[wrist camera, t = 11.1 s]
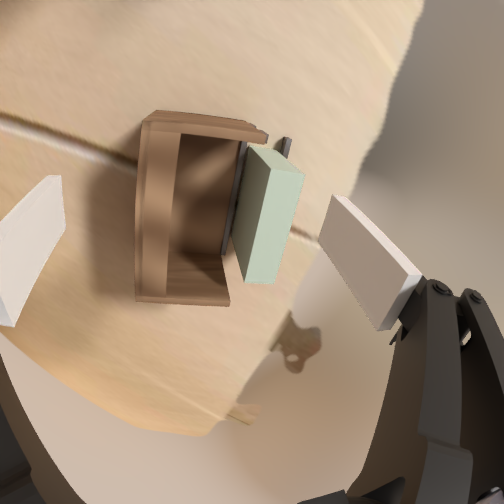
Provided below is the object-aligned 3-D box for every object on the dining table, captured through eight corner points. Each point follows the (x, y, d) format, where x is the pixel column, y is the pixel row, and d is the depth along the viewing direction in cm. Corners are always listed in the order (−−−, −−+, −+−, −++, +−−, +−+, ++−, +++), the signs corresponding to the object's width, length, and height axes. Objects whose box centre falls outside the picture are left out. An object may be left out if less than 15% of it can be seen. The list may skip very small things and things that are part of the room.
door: (249, 145, 33) (271, 168, 25) (275, 149, 34) (305, 174, 26) (231, 235, 39) (244, 282, 31) (254, 237, 40) (273, 284, 31)
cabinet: (156, 110, 29) (142, 120, 20) (290, 129, 33) (325, 148, 25) (144, 251, 37) (135, 301, 29) (258, 259, 42) (277, 307, 33)
